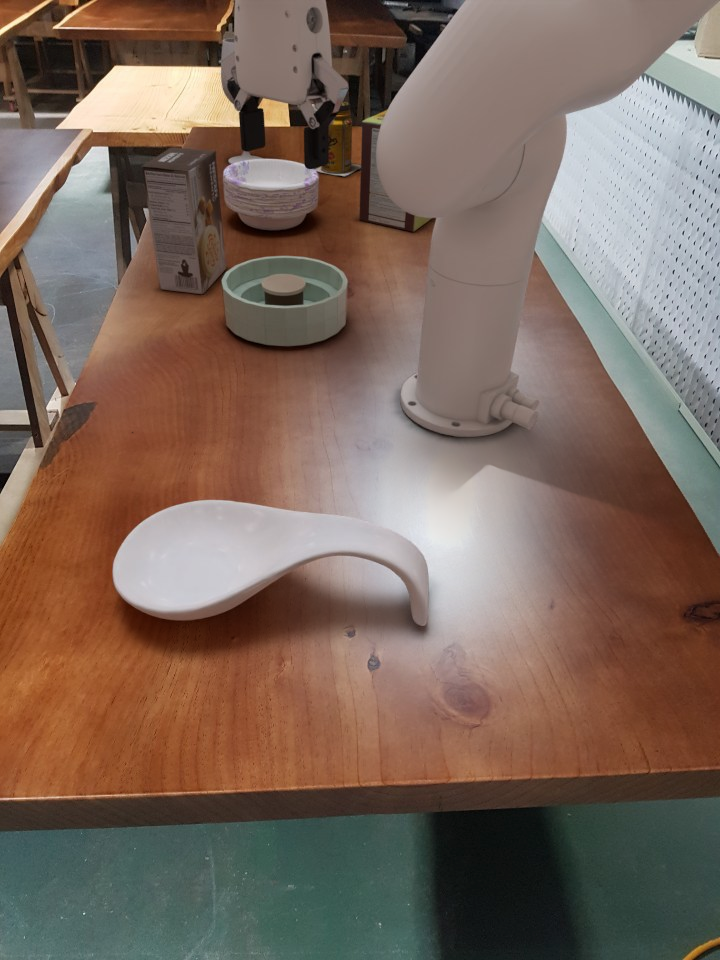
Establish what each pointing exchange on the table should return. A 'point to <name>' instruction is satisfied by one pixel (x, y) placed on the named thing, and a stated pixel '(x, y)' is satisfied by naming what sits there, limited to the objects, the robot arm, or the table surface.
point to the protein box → (379, 185)
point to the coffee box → (185, 218)
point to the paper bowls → (270, 192)
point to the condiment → (340, 145)
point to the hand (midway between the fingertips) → (284, 157)
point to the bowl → (285, 322)
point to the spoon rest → (246, 556)
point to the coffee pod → (283, 290)
